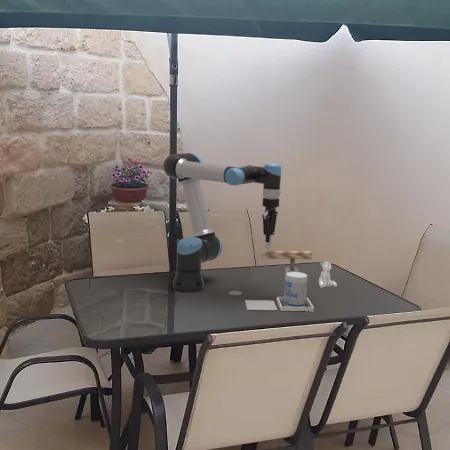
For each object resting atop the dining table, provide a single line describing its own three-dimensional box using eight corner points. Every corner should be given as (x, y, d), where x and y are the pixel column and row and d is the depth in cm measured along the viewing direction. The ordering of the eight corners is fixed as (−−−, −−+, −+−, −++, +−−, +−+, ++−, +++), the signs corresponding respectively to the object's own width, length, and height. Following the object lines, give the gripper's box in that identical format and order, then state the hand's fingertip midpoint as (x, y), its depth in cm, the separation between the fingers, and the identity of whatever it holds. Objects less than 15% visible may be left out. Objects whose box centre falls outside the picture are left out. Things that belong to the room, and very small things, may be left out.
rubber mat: (247, 310, 258) (247, 309, 258) (244, 301, 270) (244, 300, 270) (277, 310, 258) (277, 310, 258) (273, 301, 271) (273, 300, 271)
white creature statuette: (320, 288, 294) (321, 264, 292) (312, 283, 302) (314, 260, 300) (337, 287, 297) (339, 263, 295) (329, 282, 305) (331, 259, 303)
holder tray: (280, 311, 258) (281, 307, 257) (276, 301, 272) (276, 296, 271) (313, 312, 259) (313, 307, 258) (307, 301, 273) (307, 297, 272)
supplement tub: (281, 308, 262) (282, 275, 260) (286, 301, 271) (288, 270, 268) (302, 311, 259) (304, 278, 256) (307, 304, 268) (309, 273, 265)
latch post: (285, 299, 274) (287, 270, 271) (284, 296, 279) (285, 267, 276) (296, 300, 274) (298, 270, 272) (294, 296, 279) (296, 267, 276)
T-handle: (309, 267, 276) (310, 251, 275) (311, 269, 273) (312, 252, 272) (261, 267, 274) (262, 250, 273) (262, 269, 271) (262, 252, 270)
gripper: (273, 200, 263) (270, 252, 268) (284, 197, 275) (281, 247, 279) (257, 198, 267) (254, 250, 271) (269, 195, 278) (266, 245, 283)
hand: (268, 248), depth 275 cm, fingers closed
